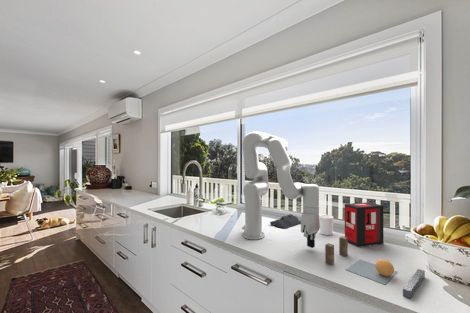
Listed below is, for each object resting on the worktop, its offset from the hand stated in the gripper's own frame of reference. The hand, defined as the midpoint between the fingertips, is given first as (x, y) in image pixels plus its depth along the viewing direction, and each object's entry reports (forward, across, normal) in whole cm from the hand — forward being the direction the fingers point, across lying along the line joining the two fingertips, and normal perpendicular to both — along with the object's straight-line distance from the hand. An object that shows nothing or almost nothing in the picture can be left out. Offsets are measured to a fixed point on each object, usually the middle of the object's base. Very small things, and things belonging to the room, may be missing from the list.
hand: (310, 246), depth 112 cm
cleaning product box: (+2, -30, +13) cm, 33 cm away
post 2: (+2, -6, +13) cm, 15 cm away
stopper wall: (+2, 0, +41) cm, 41 cm away
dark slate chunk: (+2, -25, -35) cm, 43 cm away
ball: (-2, 0, +32) cm, 32 cm away
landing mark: (+2, 0, +27) cm, 27 cm away
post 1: (+2, +6, +13) cm, 15 cm away
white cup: (+2, -28, -7) cm, 29 cm away
